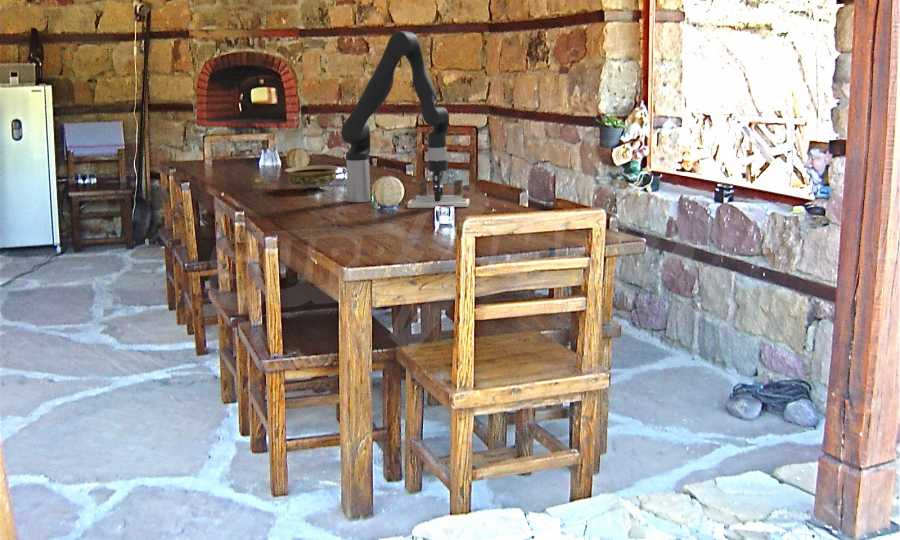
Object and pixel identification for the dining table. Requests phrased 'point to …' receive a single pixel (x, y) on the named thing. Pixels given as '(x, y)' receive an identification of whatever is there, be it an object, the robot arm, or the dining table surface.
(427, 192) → the rack
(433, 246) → the dining table surface
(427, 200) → the rail
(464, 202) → the tray
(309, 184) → the ceramic bowl
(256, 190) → the dining table surface
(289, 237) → the dining table surface
